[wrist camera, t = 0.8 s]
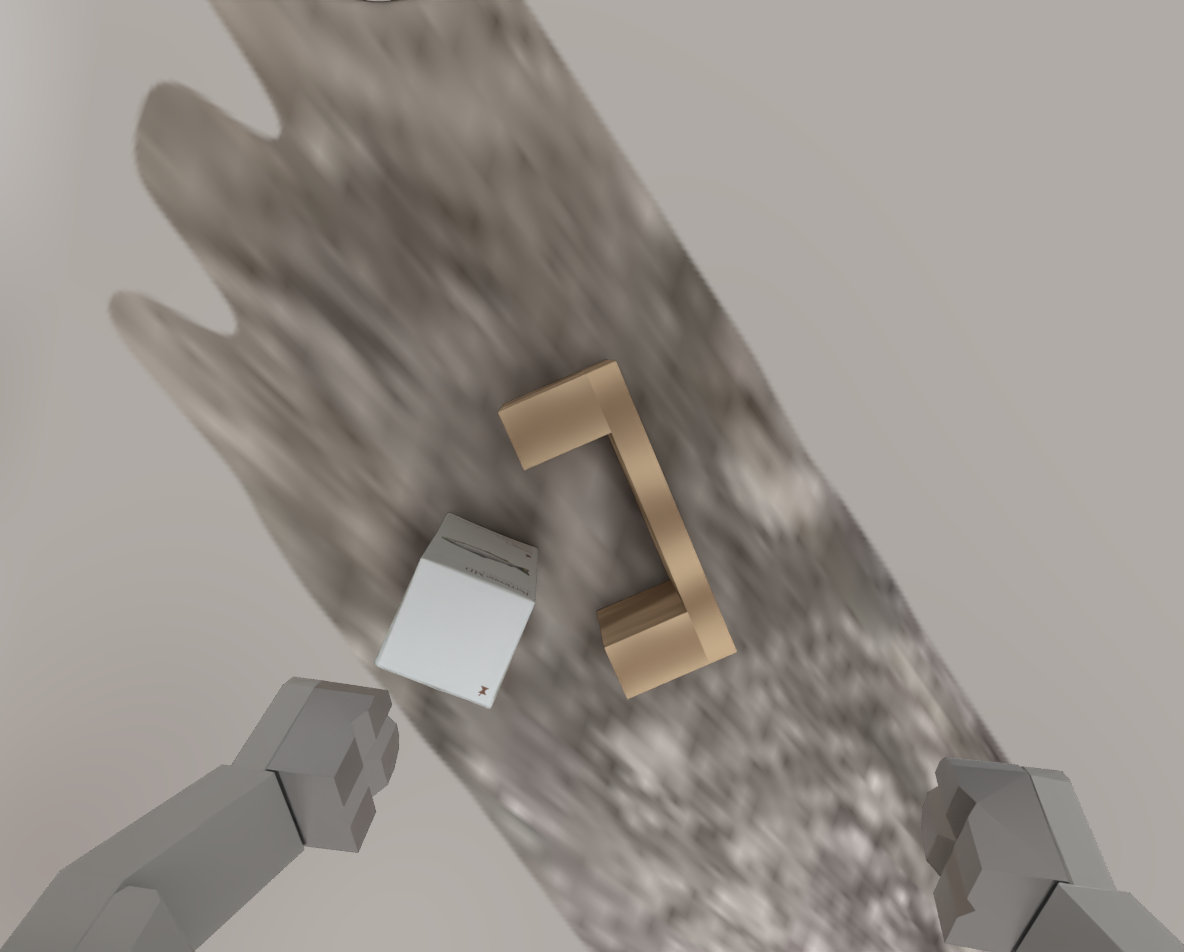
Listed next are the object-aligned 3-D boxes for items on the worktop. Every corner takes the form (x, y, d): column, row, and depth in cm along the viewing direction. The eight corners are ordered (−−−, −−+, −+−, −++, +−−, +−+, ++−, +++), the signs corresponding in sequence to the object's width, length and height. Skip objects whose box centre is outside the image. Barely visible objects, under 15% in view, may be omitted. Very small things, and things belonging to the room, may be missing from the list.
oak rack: (503, 404, 54) (497, 412, 47) (606, 359, 54) (615, 360, 47) (617, 657, 57) (627, 699, 50) (713, 615, 57) (736, 651, 50)
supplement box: (541, 546, 56) (541, 603, 43) (501, 634, 57) (490, 715, 44) (448, 507, 55) (420, 554, 42) (409, 597, 56) (371, 669, 43)
